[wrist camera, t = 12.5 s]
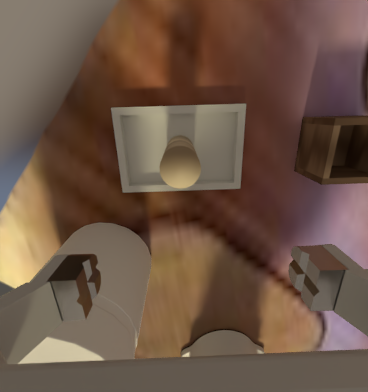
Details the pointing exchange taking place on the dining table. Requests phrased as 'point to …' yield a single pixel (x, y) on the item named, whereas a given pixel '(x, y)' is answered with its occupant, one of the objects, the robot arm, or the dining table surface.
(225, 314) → the dining table surface
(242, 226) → the dining table surface
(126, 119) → the tray
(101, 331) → the canister
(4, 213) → the dining table surface
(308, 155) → the pen pot
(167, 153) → the dowel
